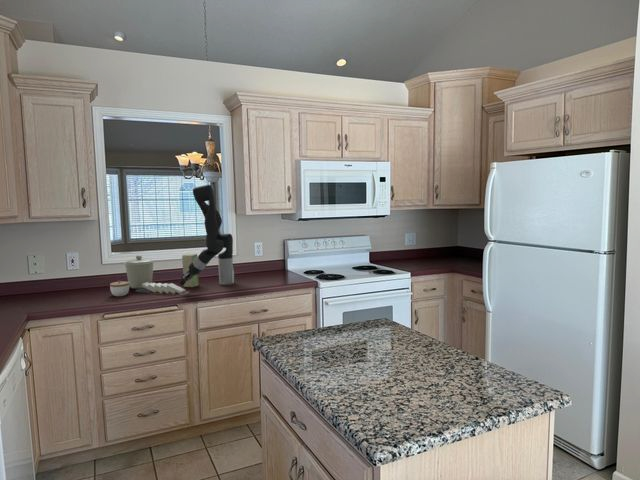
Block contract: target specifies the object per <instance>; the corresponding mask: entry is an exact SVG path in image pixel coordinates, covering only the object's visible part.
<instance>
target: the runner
mask: <svg viewBox="0 0 640 480" xmlns="http://www.w3.org/2000/svg"><path fill="white" fill-rule="evenodd" d="M189 293H190V291H186V290H185V292H184V293H182V294H179V293H175V294H173V293H166V292H163V293H160V292H156V293H154V292H150V293H147V294H151V295H171V296H172V295H174V296H184V295H187V294H189Z"/></svg>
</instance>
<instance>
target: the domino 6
mask: <svg viewBox="0 0 640 480" xmlns="http://www.w3.org/2000/svg"><path fill="white" fill-rule="evenodd" d="M167 284H168V285H167V286H166V287H167V288H169V289H171V290H173V291H175V292H177V293H179V294H182V293H184V292H185V291H186V289H185V288H184V287H181V286H178V285H177V284H175V283H167Z"/></svg>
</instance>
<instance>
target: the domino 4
mask: <svg viewBox="0 0 640 480" xmlns="http://www.w3.org/2000/svg"><path fill="white" fill-rule="evenodd" d="M161 284H162V282H158V283H156V284H155V285H154V287H155V288H157V289H160V290H162V291H164V292H166V293H171V292H169V291H167V290H165V289H163V288H161V287H160V286H161Z"/></svg>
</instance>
